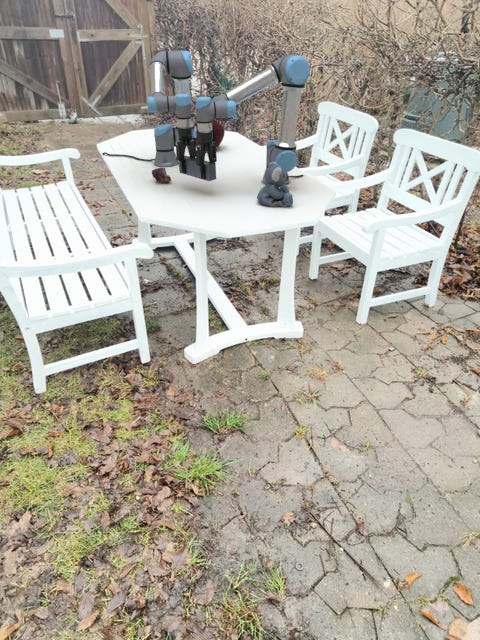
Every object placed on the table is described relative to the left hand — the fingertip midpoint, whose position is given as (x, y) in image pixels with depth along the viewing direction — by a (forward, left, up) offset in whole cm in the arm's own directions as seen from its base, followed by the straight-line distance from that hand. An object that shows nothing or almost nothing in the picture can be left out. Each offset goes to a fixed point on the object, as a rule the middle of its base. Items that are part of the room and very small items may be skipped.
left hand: (187, 171), depth 247 cm
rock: (-21, -3, -9) cm, 23 cm away
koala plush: (+50, +14, -9) cm, 53 cm away
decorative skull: (-56, +69, -9) cm, 90 cm away
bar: (+8, 0, -1) cm, 8 cm away
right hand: (+15, 0, 0) cm, 15 cm away
